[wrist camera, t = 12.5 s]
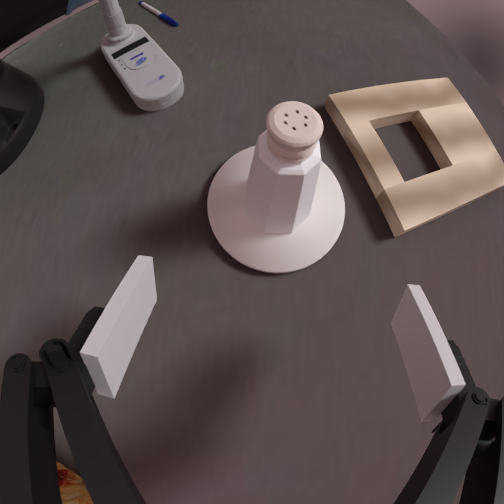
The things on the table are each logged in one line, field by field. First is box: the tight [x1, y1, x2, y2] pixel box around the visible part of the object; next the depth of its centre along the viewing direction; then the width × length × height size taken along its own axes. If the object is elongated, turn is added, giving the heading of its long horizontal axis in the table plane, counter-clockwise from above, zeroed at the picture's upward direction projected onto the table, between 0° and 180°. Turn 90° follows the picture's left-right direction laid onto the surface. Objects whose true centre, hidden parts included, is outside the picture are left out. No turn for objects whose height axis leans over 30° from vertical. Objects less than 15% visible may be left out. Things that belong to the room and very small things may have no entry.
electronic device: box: [99, 0, 184, 112], centre depth 25 cm, size 5×10×15 cm
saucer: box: [207, 146, 345, 274], centre depth 26 cm, size 11×11×1 cm
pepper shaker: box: [245, 101, 324, 233], centre depth 20 cm, size 5×5×11 cm
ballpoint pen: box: [139, 1, 178, 27], centre depth 32 cm, size 10×1×1 cm, turn 41°
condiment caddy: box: [325, 78, 504, 237], centre depth 27 cm, size 14×17×2 cm
